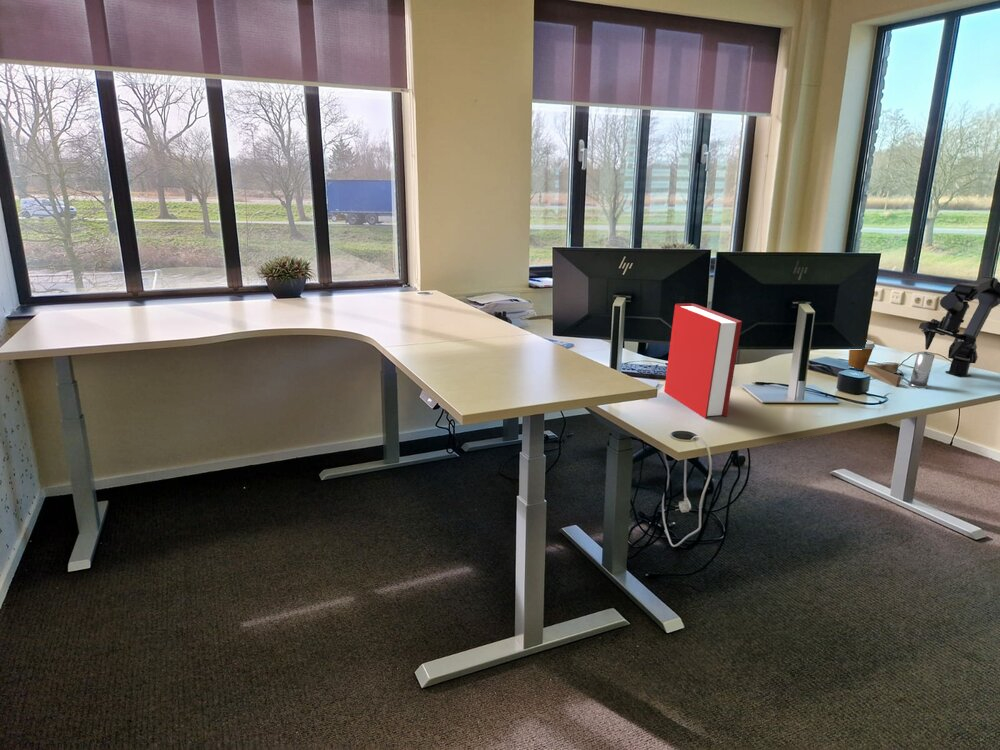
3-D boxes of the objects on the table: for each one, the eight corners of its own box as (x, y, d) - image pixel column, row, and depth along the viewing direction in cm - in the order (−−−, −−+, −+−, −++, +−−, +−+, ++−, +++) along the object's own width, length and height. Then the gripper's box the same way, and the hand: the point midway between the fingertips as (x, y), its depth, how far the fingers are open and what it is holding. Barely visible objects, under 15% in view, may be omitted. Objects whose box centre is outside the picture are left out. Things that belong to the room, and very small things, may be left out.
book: (726, 417, 204) (741, 321, 194) (705, 418, 202) (719, 321, 192) (681, 389, 229) (693, 303, 219) (662, 390, 227) (673, 303, 217)
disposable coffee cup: (853, 372, 258) (859, 344, 254) (838, 365, 267) (844, 338, 263) (874, 372, 259) (881, 344, 255) (859, 365, 268) (865, 338, 264)
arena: (892, 372, 260) (894, 363, 259) (926, 384, 245) (929, 375, 244) (863, 373, 256) (865, 364, 255) (895, 386, 242) (898, 376, 240)
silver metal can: (913, 382, 248) (921, 350, 244) (930, 387, 243) (939, 355, 239) (904, 384, 244) (912, 352, 240) (922, 389, 239) (930, 357, 235)
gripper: (967, 324, 250) (951, 361, 252) (920, 308, 253) (904, 345, 254) (984, 323, 239) (967, 362, 241) (934, 307, 242) (918, 345, 243)
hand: (938, 353), depth 245 cm, fingers open, 9 cm apart
